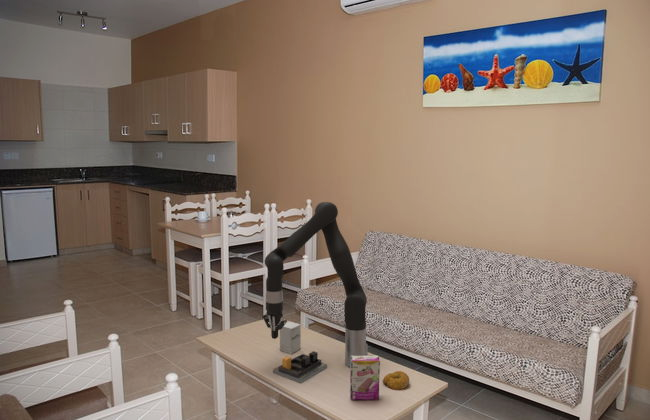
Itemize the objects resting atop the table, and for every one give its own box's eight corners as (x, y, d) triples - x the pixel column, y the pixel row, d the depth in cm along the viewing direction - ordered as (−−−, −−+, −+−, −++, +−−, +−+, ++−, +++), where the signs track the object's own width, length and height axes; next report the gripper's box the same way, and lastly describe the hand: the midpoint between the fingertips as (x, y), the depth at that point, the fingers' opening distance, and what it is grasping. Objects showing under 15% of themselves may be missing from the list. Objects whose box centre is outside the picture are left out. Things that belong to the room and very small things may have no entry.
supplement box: (291, 354, 233) (290, 328, 231) (279, 350, 237) (279, 325, 236) (301, 349, 239) (301, 324, 237) (289, 345, 243) (289, 320, 242)
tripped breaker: (282, 369, 214) (282, 358, 213) (286, 367, 216) (286, 356, 215) (286, 371, 212) (286, 360, 212) (291, 368, 215) (290, 357, 214)
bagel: (387, 376, 211) (387, 366, 210) (412, 382, 206) (412, 371, 205) (379, 387, 202) (379, 376, 201) (405, 393, 197) (405, 382, 197)
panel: (272, 372, 215) (272, 358, 214) (299, 358, 229) (299, 344, 228) (301, 383, 205) (301, 367, 204) (327, 367, 219) (327, 353, 218)
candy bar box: (350, 401, 191) (351, 360, 189) (349, 394, 196) (349, 355, 194) (379, 400, 191) (380, 360, 189) (377, 393, 196) (378, 354, 194)
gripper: (291, 300, 213) (291, 339, 216) (269, 294, 221) (269, 331, 223) (279, 305, 207) (280, 344, 210) (257, 299, 215) (257, 337, 217)
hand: (274, 337), depth 216 cm, fingers closed
